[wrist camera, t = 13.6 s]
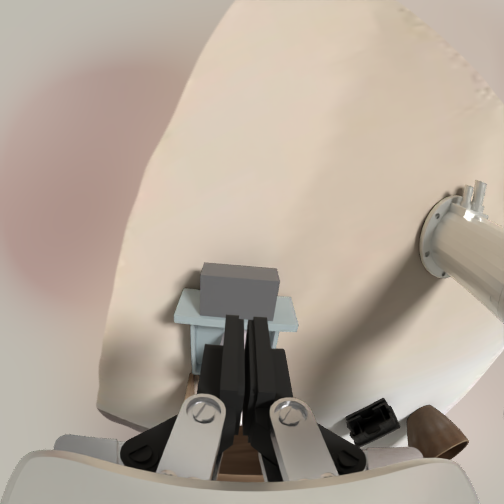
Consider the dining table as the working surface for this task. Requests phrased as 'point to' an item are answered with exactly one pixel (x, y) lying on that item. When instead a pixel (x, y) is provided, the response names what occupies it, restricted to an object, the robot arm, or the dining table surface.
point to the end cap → (372, 422)
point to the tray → (218, 324)
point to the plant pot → (434, 434)
